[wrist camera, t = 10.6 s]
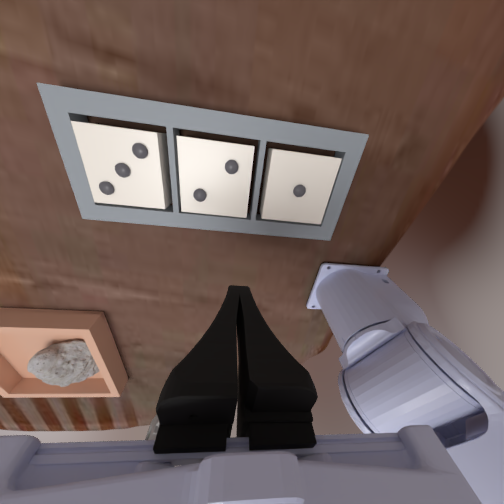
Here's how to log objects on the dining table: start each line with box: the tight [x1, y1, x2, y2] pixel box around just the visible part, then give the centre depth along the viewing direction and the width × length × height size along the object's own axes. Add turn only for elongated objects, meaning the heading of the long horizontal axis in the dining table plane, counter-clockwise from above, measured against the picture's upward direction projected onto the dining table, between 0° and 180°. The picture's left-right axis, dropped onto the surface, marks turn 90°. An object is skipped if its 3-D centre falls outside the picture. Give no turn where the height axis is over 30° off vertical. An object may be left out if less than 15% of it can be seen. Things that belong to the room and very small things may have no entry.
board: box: [37, 83, 369, 241], centre depth 18 cm, size 25×10×2 cm, turn 83°
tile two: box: [177, 136, 255, 218], centre depth 17 cm, size 6×6×3 cm
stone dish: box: [0, 307, 129, 398], centre depth 29 cm, size 18×18×3 cm
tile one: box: [259, 148, 342, 224], centre depth 18 cm, size 6×6×3 cm
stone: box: [27, 340, 100, 387], centre depth 30 cm, size 10×5×10 cm
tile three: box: [71, 121, 173, 209], centre depth 17 cm, size 6×6×3 cm
